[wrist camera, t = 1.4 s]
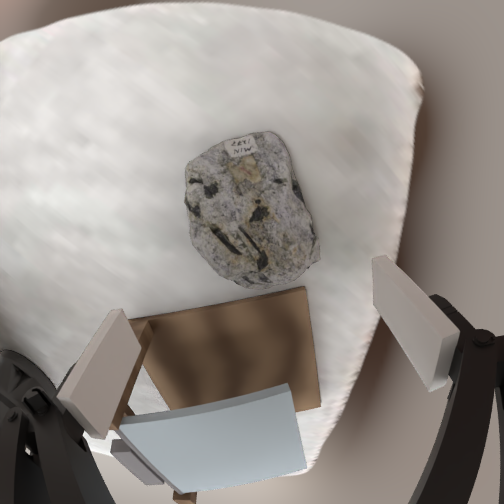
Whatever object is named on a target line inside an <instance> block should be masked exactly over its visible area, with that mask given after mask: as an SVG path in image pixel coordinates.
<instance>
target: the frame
mask: <svg viewBox="0 0 504 504" xmlns="http://www.w3.org/2000/svg"><path fill="white" fill-rule="evenodd" d="M128 322H129V324H130V326H131V328H132V330H133V332H134V334H135V336H136V338H137V340H138V342H139V344H140V346H141V351H140V353H139V355H138V358H137V360H136V362H135V365H134V367H133V370H132V372H131V374H130V377H129V379H128V382H127V384H126V387H125V389H124V391H123V394H122V396H121V399H120V402H119V404H118V407H117V409H116V412H115V414H114V417H113V420H112V422H111V425H110V428H109V430H119V427H120V424H121V421H122V418H123V417H126V416H135V414H134V412H133V411H132V410H131V408H130V407H129V406H128V401H129V398H130V395H131V393H132V390H133V387H134V384H135V382H136V379H137V376H138V374H139V371H140V368H141V366H142V364H143V365H144V367H145V369H146V371H147V372H148V374H149V376H150V378H151V379H152V381H153V383H154V384H155V386H156V388H157V389H158V391H159V393H160V394H161V396H162V397H163V399H164V401H165V402H166V404H167V405H168V407H169V408H170V410H176V409H182V408H187V407H193V406H198V405H203V404H208V403H212V402H217V401H221V400H226V399H230V398H234V397H238V396H242V395H246V394H250V393H254V392H257V391H261V390H265V389H268V388H272V387H275V386H279V385H282V384H285V383H288V385H289V388H290V390H291V395H292V399H293V404H294V409H295V412H300V411H305V410H309V409H314V408H318V407H321V404H320V395H319V386H318V377H317V369H316V361H315V353H314V345H313V338H312V331H311V323H310V316H309V310H308V303H307V296H306V290H305V287H304V286H303V287H298V288H294V289H289V290H285V291H280V292H276V293H271V294H266V295H261V296H257V297H252V298H247V299H242V300H237V301H232V302H227V303H222V304H216V305H211V306H206V307H200V308H195V309H189V310H184V311H178V312H172V313H167V314H161V315H155V316H149V317H143V318H136V319H130V320H128ZM196 497H197V492H189V493H185V494H182V495H180V494H178V493H177V492H176V491H175V490H174V493H173V500H174V501H175V502H176V503H178V504H196Z"/></svg>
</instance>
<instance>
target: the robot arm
mask: <svg viewBox="0 0 504 504" xmlns="http://www.w3.org/2000/svg"><path fill="white" fill-rule="evenodd" d="M372 270H373V305H374V306H375V308H376V309H377V311H378V312H379V313H380V315H381V316H382V318H383V319H384V321H385V322H386V324H387V325H388V327H389V328H390V330H391V331H392V333H393V335H394V336H395V338H396V339H397V341H398V342H399V344H400V346H401V347H402V349H403V350H404V352H405V353H406V355H407V357H408V358H409V360H410V361H411V363H412V365H413V366H414V368H415V369H416V371H417V373H418V374H419V376H420V378H421V379H422V381H423V383H424V384H425V386H426V388H427V389H428V391H429V392H431V391H434V390H436V389H438V388H441V387H443V386H445V385H446V382H447V379H448V375H449V376H450V378H451V379H452V381H453V384H452V387H451V390H450V392H449V395H448V398H447V399H448V402H447V406H446V409H445V413H444V416H443V420H442V422H441V426H440V429H439V432H438V435H437V438H436V440H435V443H434V446H433V449H432V451H431V454H430V456H429V459H428V462H427V464H426V466H425V469H424V471H423V473H422V476H421V478H420V480H419V482H418V484H417V487H416V489H415V491H414V493H413V495H412V497H411V499H410V501H409V503H408V504H467V503H468V501H469V498H470V495H471V492H472V489H473V486H474V483H475V480H476V477H477V474H478V470H479V467H480V463H481V459H482V456H483V452H484V447H485V443H486V438H487V433H488V429H489V424H490V418H491V412H492V404H493V398H494V389H495V394H496V402H497V410H498V419H499V433H500V461H501V462H500V463H501V464H500V465H501V466H500V469H501V470H500V493H499V504H504V335H503V336H498V337H495V335H494V334H493V333H491V332H490V331H488V330H484V329H475V328H474V327H473V326H472V325H471V324H470V323H469V322H468V321H467V320H466V319H465V318H464V317H463V316H462V315H461V314H460V313H459V312H457V310H456V309H455V308H454V307H452V305H451V304H450V303H449V302H448V301H447V300H446V299H445V298H443V297H441V296H439V295H437V294H435V295H432V296H429V297H428V296H427V295H426V294H425V293H424V292H423V291H422V290H421V289H420V288H419V287H418V286H417V285H416V284H415V283H414V282H413V281H412V280H411V279H410V278H409V277H408V276H407V275H406V274H405V273H404V272H403V271H402V270H401V269H400V268H399V267H398V266H397V265H396V264H395V263H394V262H393V261H392V260H390V259H389V258H388V257H387V256H386V255H383V256H379V257H374V258H372ZM140 351H141V346H140V344H139V342H138V340H137V338H136V336H135V334H134V332H133V330H132V328H131V326H130V324H129V322H128V320H127V317H126V315H125V313H124V311H123V309H116V310H111V311H110V312H109V314H108V315H107V317H106V318H105V320H104V321H103V323H102V324H101V326H100V327H99V329H98V330H97V332H96V333H95V335H94V336H93V338H92V339H91V341H90V343H89V344H88V346H87V347H86V349H85V350H84V352H83V353H82V355H81V357H80V358H79V360H78V361H77V362H76V363H75V364H74V365H73V366H72V367H71V368H70V369H69V371H68V373H67V374H66V376H65V377H64V379H63V382H61V384H60V386H59V387H58V389H57V391H56V389H55V387H54V386H53V384H52V383H51V382H50V380H49V379H48V378H47V377H46V376H45V375H44V373H43V372H42V371H41V370H40V369H39V368H37V367H36V366H35V365H34V364H33V363H32V362H30V361H29V360H28V359H26V358H25V357H23V356H22V355H20V354H18V353H16V352H13V351H10V350H3V351H1V352H0V504H116V503H115V502H114V500H113V498H112V496H111V494H110V492H109V490H108V488H107V486H106V484H105V482H104V480H103V478H102V476H101V474H100V472H99V469H98V467H97V465H96V463H95V461H94V458H93V456H92V453H91V451H90V448H89V446H88V443H87V441H86V439H85V438H84V437H83V436H82V435H83V433H84V430H85V431H86V432H87V433H88V434H89V436H90V437H91V438H95V439H104V440H105V438H106V436H107V433H108V430H109V428H110V425H111V422H112V420H113V417H114V414H115V412H116V409H117V407H118V404H119V402H120V399H121V396H122V394H123V391H124V389H125V387H126V384H127V382H128V379H129V377H130V374H131V372H132V370H133V367H134V365H135V362H136V360H137V358H138V355H139V353H140ZM26 448H28V449H29V450H30V455H28V454H27V453H26V452H25V450H26Z"/></svg>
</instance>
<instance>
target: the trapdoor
mask: <svg viewBox="0 0 504 504" xmlns="http://www.w3.org/2000/svg"><path fill="white" fill-rule="evenodd" d="M114 431H115V432H116V433H117V434H118V435H119V436H120V437H121V439H114V440H112V445H111V451H110V453H111V454H112V455H113V456H114V457H115V458H116V459H117V460H118V461H119V462H120V463H121V464H123V465H124V466H125V467H126V468H127V469H128V470H129V471H130V472H131V473H132V474H134V475H135V476H136V477H137V478H138V479H139V480H141V481H142V482H143V483H144V484H145V485H161V484H164V481H165V482H166V483H167V484H168V485H169V486H170V487H171V488H173V489H174V490H175V491H176V492H177V493H178V494H180V495H182V494H185V493H189V492H197V491H206V490H213V489H220V488H226V487H232V486H238V485H243V484H248V483H252V482H257V481H262V480H266V479H270V478H274V477H278V476H282V475H285V474H289V473H292V472H296V471H299V470H302V469H306V468H307V465H306V460H305V455H304V451H303V446H302V441H301V437H300V432H299V427H298V423H297V418H296V413H295V409H294V404H293V399H292V395H291V390H290V388H289V385H288V383H285V384H282V385H279V386H275V387H272V388H268V389H265V390H261V391H257V392H254V393H250V394H246V395H242V396H238V397H234V398H230V399H226V400H221V401H217V402H212V403H208V404H203V405H198V406H193V407H187V408H182V409H176V410H170V411H164V412H157V413H150V414H143V415H135V416H126V417H123V418H122V421H121V424H120V427H119V430H114Z"/></svg>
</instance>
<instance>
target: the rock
mask: <svg viewBox="0 0 504 504" xmlns="http://www.w3.org/2000/svg"><path fill="white" fill-rule="evenodd" d="M185 178H186V188H187V189H186V192H185V200H184V203H185V204H186V206H187V214H188V217H189V225H190V237H191V241H192V245H193V246H194V247H195V248H196V249H197V251H198V252H199V253H200V254H201V256H202V257H203V258H204V259H205V260H206V261H207V262H208V263H209V265H210V266H211V267H212V268H213V269H214V270H215V271H216V272H217V273H218V274H219V276H222V277H224V278H226V279H228V280H231V281H234V282H235V283H236V284H239V285H241V286H243V287H245V288H248V289H266V288H270V287H271V286H273V285H279V284H286V283H288V282H291V281H294V280H296V279H297V278H298V277H299V276H300V275H301V274H302V273H304V272H305V270H306V269H307V268H309V267H310V265H311V264H312V263H315V262H318V261H319V260H320V246H319V241H318V237H317V236H315V233H314V232H313V228H312V225H313V223H312V217H311V214H310V213H309V211H308V210H307V209H306V207H305V203H304V200H303V197H302V194H301V191H300V188H299V185H298V183H297V181H296V178H295V176H294V173H293V170H292V167H291V159H290V156H289V153H288V152H287V151H286V147H285V145H284V143H283V142H282V141H281V140H280V139H279V138H278V137H277V136H276V135H274V134H273V133H271V132H261V133H252V134H248V135H246V136H244V137H242V138H237V139H231V140H227V141H223V142H221V143H220V144H218V145H215V146H213V147H211V148H210V149H209V150H208V151H207V152H205V153H202V154H201V155H199V156H198V157H196V158H195V159H194V160H193V161H189V163H188V165H187V166H186V169H185Z"/></svg>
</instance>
